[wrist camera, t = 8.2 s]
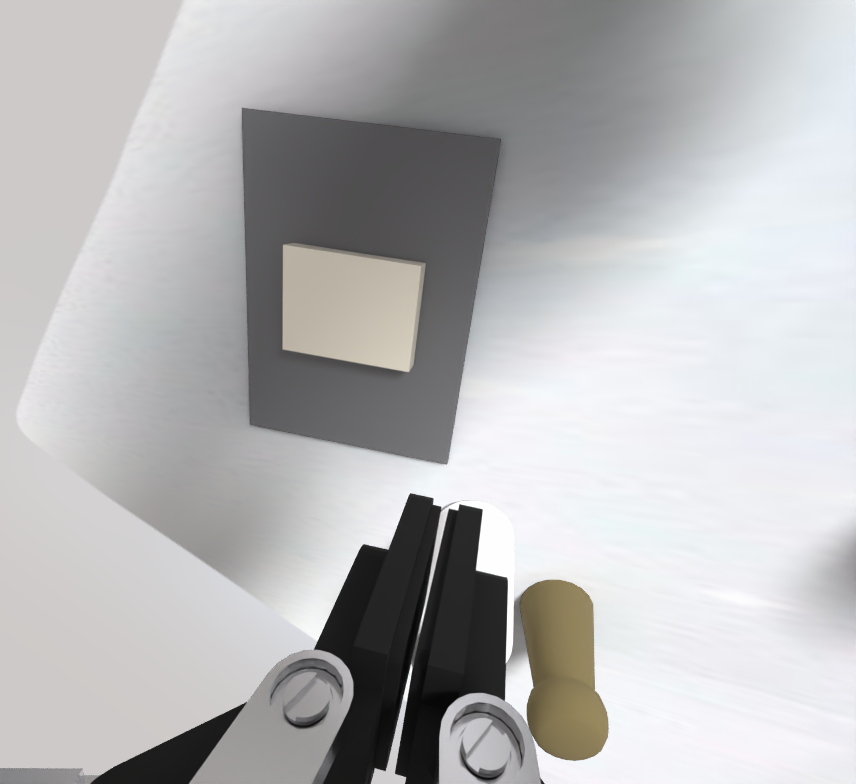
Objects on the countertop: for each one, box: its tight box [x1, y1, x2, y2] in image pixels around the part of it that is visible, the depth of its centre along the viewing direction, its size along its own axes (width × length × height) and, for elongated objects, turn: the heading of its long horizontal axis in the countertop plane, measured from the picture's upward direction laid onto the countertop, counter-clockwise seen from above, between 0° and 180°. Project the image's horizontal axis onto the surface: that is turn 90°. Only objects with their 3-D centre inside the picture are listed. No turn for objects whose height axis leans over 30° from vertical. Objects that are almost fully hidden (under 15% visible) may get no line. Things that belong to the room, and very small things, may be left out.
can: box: [411, 501, 514, 667], centre depth 33 cm, size 6×6×12 cm
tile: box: [283, 243, 426, 372], centre depth 31 cm, size 7×2×9 cm
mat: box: [242, 108, 501, 464], centre depth 33 cm, size 22×16×1 cm
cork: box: [520, 580, 608, 761], centre depth 35 cm, size 6×6×11 cm
